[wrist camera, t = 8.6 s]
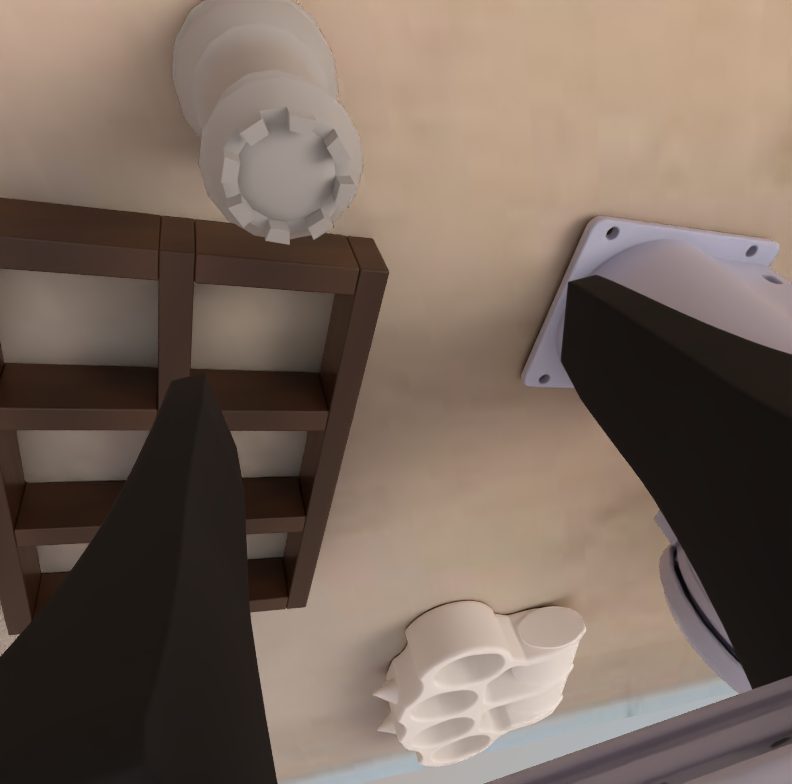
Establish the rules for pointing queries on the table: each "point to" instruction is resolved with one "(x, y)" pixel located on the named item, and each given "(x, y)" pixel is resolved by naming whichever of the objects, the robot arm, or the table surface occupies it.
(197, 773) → the robot arm
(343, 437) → the rack
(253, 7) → the rook chess piece
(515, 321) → the table surface
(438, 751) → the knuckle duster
